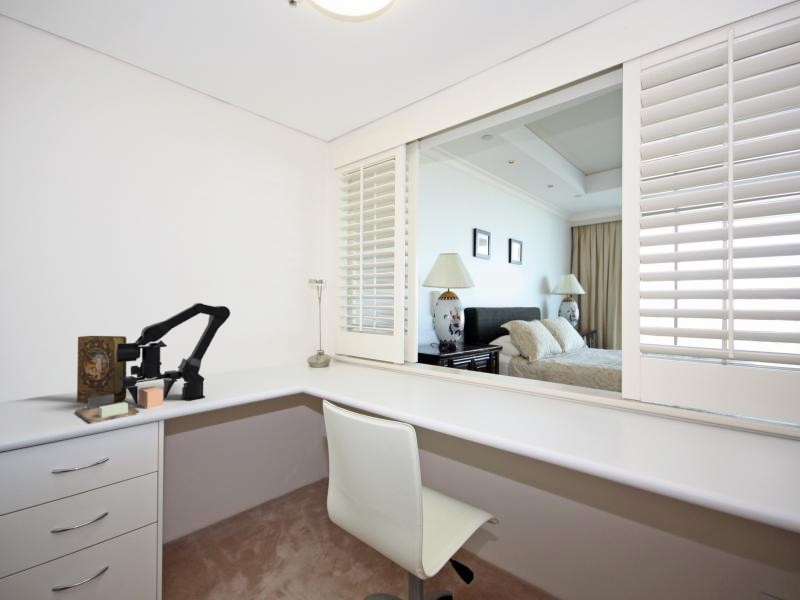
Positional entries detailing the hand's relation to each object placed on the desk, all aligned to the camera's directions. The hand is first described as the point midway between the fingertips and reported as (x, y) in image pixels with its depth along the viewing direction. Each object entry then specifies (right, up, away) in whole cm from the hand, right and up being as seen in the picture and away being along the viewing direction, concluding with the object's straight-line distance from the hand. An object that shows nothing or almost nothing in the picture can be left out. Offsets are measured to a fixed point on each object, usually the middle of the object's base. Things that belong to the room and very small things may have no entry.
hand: (150, 401), depth 134 cm
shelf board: (-8, -1, -10) cm, 13 cm away
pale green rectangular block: (-2, -1, -15) cm, 15 cm away
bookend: (-14, 0, -6) cm, 15 cm away
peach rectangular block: (0, -2, 0) cm, 2 cm away
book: (-22, -2, +4) cm, 23 cm away
